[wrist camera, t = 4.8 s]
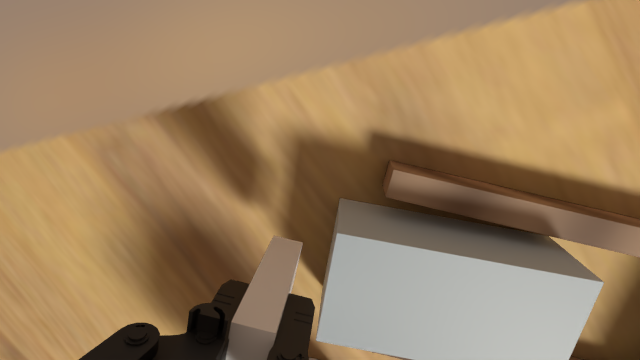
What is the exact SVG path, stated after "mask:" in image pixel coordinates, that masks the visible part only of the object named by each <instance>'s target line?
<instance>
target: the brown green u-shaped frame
mask: <svg viewBox="0 0 640 360" xmlns="http://www.w3.org/2000/svg"><path fill="white" fill-rule="evenodd" d="M382 186H383V190H384V193H385V197H387V198H391V199H396V200H400V201H404V202H408V203H412V204H417V205H421V206H425V207H429V208H434V209H438V210H442V211H446V212H450V213H455V214H459V215H463V216H467V217H472V218H476V219H480V220H484V221H488V222H493V223H497V224H501V225H505V226H509V227H514V228H518V229H522V230H526V231H531V232H535V233H539V234H543V235H547V236H552V237H556V238H560V239H564V240H569V241H573V242H577V243H581V244H585V245H590V246H594V247H598V248H602V249H607V250H611V251H615V252H619V253H623V254H628V255H632V256H636V257H640V219H637V218H633V217H628V216H624V215H620V214H616V213H611V212H607V211H603V210H599V209H594V208H590V207H586V206H582V205H577V204H573V203H569V202H565V201H560V200H556V199H552V198H548V197H544V196H539V195H535V194H531V193H527V192H522V191H518V190H514V189H510V188H505V187H501V186H497V185H493V184H488V183H484V182H480V181H476V180H471V179H467V178H463V177H459V176H454V175H450V174H446V173H442V172H437V171H433V170H429V169H425V168H420V167H416V166H412V165H408V164H404V163H399V162H395V161H391V160H390V161H389V164H388V168H387V171H386V174H385V178H384V181H383V185H382ZM370 352H371V351H370ZM374 353H376V352H374ZM379 354H382V353H379ZM383 355H387V354H383ZM387 356H391V357H395V358H399V359H403V360H413V359H407V358H402V357H397V356H392V355H387ZM569 360H583V359H579V358H575V357H571V356H570V358H569Z"/></svg>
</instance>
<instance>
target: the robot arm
mask: <svg viewBox="0 0 640 360" xmlns="http://www.w3.org/2000/svg"><path fill="white" fill-rule="evenodd" d="M302 245H303V242H299V241H294V240H290V239H286V238H282V237H278V236H273V238H272V240H271V242H270V244H269V246H268V248H267V250H266V252H265V254H264V256H263V258H262V260H261V262H260V264H259V266H258V268H257V270H256V273H255V275H254V277H253V279H252V281H251V283H250V284H247V283H243V282H239V281H235V280H229V281H228V282H226V283H225V284H223V285H222V286H221V287H220V289H219V291H218V292H217V295H215V297H214V299H213V301H212V302H211V303H205V304H200V305H197V306H195V307H194V308H192V309H191V310H190V311H189V319H188V326H187V332H186V333H184V334H180V335H170V336H160V333H159V331H158V329H157V328H156V327H155V326H153V325H151V324H148V323H134V324H130V325H127V326H125V327H123V328H121V329H120V330H119V331H117V332H116V333H114V334H113V335H112V336H110V337H109V338H108V339H106V340H105V341H103V342H102V343H101V344H99V345H98V346H97V347H95V348H94V349H92V350H91V351H90V352H88V353H87V354H86V355H84V356H83V357H81V358H80V359H79V360H309V357H308V347H309V341H310V335H311V329H312V322H313V316H314V310H315V306H314V304H313V301H312V299H310V298H306V297H302V296H298V295H294V294H291V291H292V287H293V283H294V279H295V274H296V270H297V266H298V262H299V257H300V253H301V249H302Z"/></svg>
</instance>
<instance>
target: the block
mask: <svg viewBox="0 0 640 360" xmlns="http://www.w3.org/2000/svg"><path fill="white" fill-rule="evenodd" d="M603 284H604V282H603V281H602V280H601V279H599V278H598V277H597V276H596V275H595V274H593V273H592V272H591V271H590V270H588V269H587V268H586V267H585V266H584V265H582V264H581V263H580V262H579V261H578V260H576V259H575V258H574V257H573V256H572V255H570V254H569V253H568V252H567V251H566V250H564V249H563V248H562V247H561V246H560V245H558V244H557V243H556V242H555V241H553V240H552V239H551V238H550V237H549V236H545V235H540V234H534V233H529V232H523V231H518V230H512V229H507V228H502V227H496V226H491V225H485V224H480V223H474V222H469V221H463V220H458V219H452V218H447V217H441V216H436V215H430V214H425V213H419V212H414V211H408V210H403V209H397V208H392V207H386V206H381V205H375V204H370V203H364V202H359V201H354V200H348V199H343V198H340V200H339V205H338V210H337V216H336V221H335V226H334V231H333V236H332V242H331V247H330V252H329V257H328V262H327V268H326V273H325V278H324V283H323V289H322V297H321V305H320V313H319V321H318V329H317V337H316V341H320V342H325V343H330V344H335V345H340V346H345V347H351V348H356V349H361V350H366V351H371V352H376V353H382V354H387V355H392V356H397V357H402V358H407V359H413V360H569V358H570V356H571V354H572V352H573V349H574V347H575V345H576V343H577V341H578V338H579V336H580V334H581V332H582V330H583V328H584V325H585V323H586V321H587V319H588V317H589V314H590V312H591V310H592V308H593V306H594V303H595V301H596V299H597V297H598V295H599V293H600V290H601V288H602V286H603Z"/></svg>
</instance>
